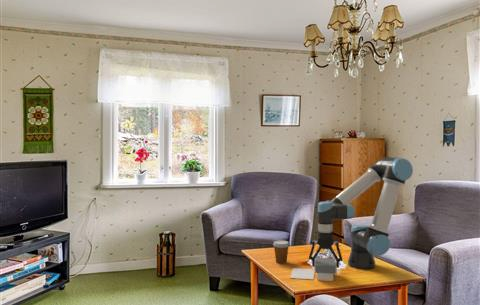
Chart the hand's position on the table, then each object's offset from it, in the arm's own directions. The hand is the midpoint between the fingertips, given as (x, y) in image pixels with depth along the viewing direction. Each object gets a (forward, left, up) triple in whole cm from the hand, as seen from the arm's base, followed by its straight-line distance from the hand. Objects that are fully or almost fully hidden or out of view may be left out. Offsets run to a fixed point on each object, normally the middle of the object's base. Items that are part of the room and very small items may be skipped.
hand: (325, 272), depth 215 cm
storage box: (0, 0, -2) cm, 2 cm away
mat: (+12, -2, -2) cm, 12 cm away
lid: (0, 0, +2) cm, 2 cm away
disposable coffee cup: (+26, -21, -2) cm, 34 cm away
